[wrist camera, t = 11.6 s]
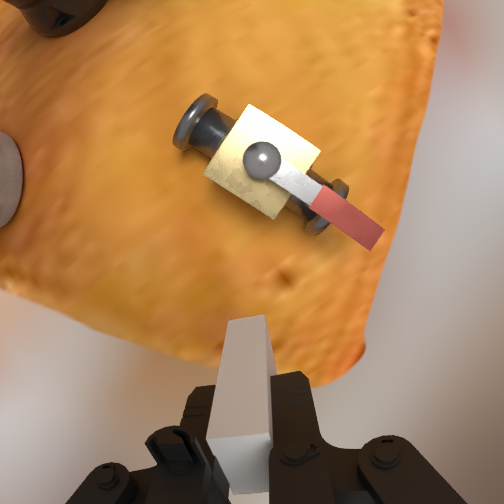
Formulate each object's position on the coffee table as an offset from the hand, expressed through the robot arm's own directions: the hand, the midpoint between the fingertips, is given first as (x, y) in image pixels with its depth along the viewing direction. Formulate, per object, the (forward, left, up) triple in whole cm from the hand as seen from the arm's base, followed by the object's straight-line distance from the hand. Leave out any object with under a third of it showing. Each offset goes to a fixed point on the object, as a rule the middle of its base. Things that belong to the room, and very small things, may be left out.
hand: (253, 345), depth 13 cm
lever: (+1, +7, -18) cm, 19 cm away
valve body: (-4, +7, -26) cm, 28 cm away
